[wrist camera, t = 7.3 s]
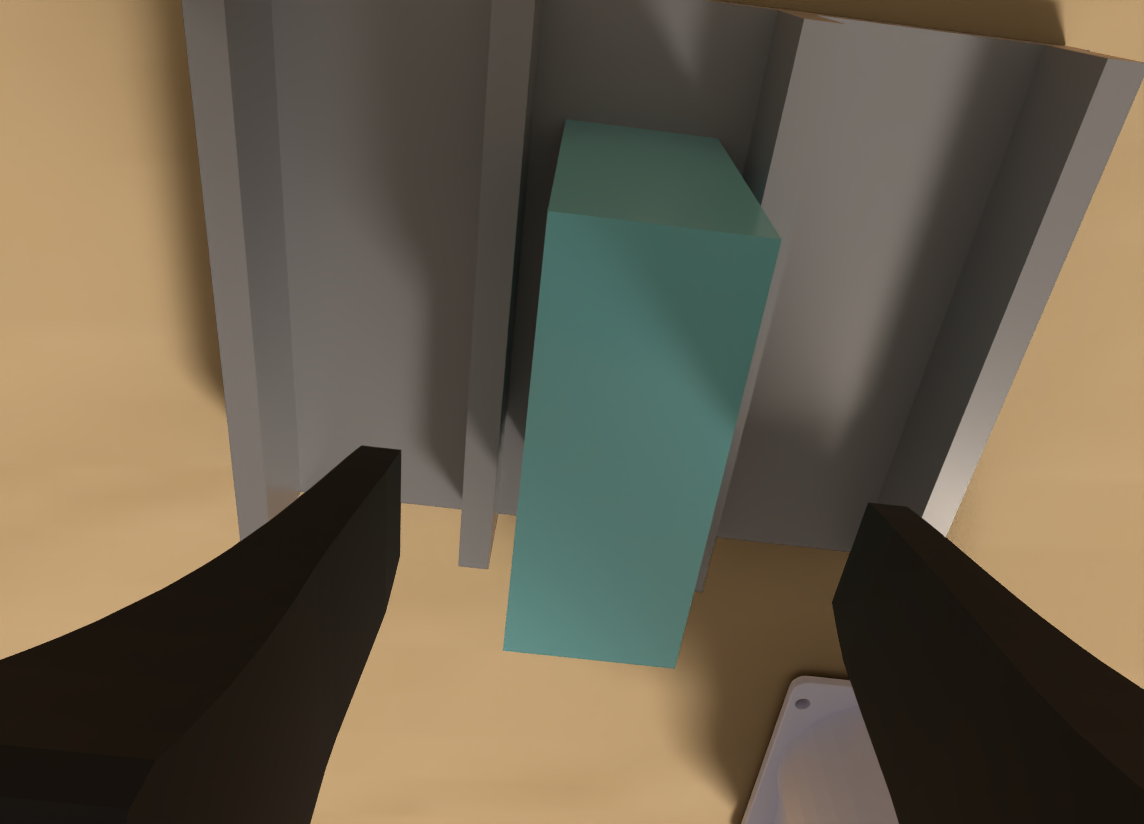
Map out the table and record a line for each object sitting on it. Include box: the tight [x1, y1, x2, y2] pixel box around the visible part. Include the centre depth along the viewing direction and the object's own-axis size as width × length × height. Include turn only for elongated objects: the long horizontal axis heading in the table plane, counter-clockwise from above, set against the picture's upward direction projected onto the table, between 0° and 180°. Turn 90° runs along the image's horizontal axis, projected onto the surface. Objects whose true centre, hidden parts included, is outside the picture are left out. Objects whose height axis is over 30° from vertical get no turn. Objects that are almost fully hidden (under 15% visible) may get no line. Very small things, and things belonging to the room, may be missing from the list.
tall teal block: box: [503, 119, 782, 669], centre depth 18 cm, size 9×4×8 cm, turn 173°
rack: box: [181, 0, 1144, 592], centre depth 20 cm, size 14×19×4 cm
